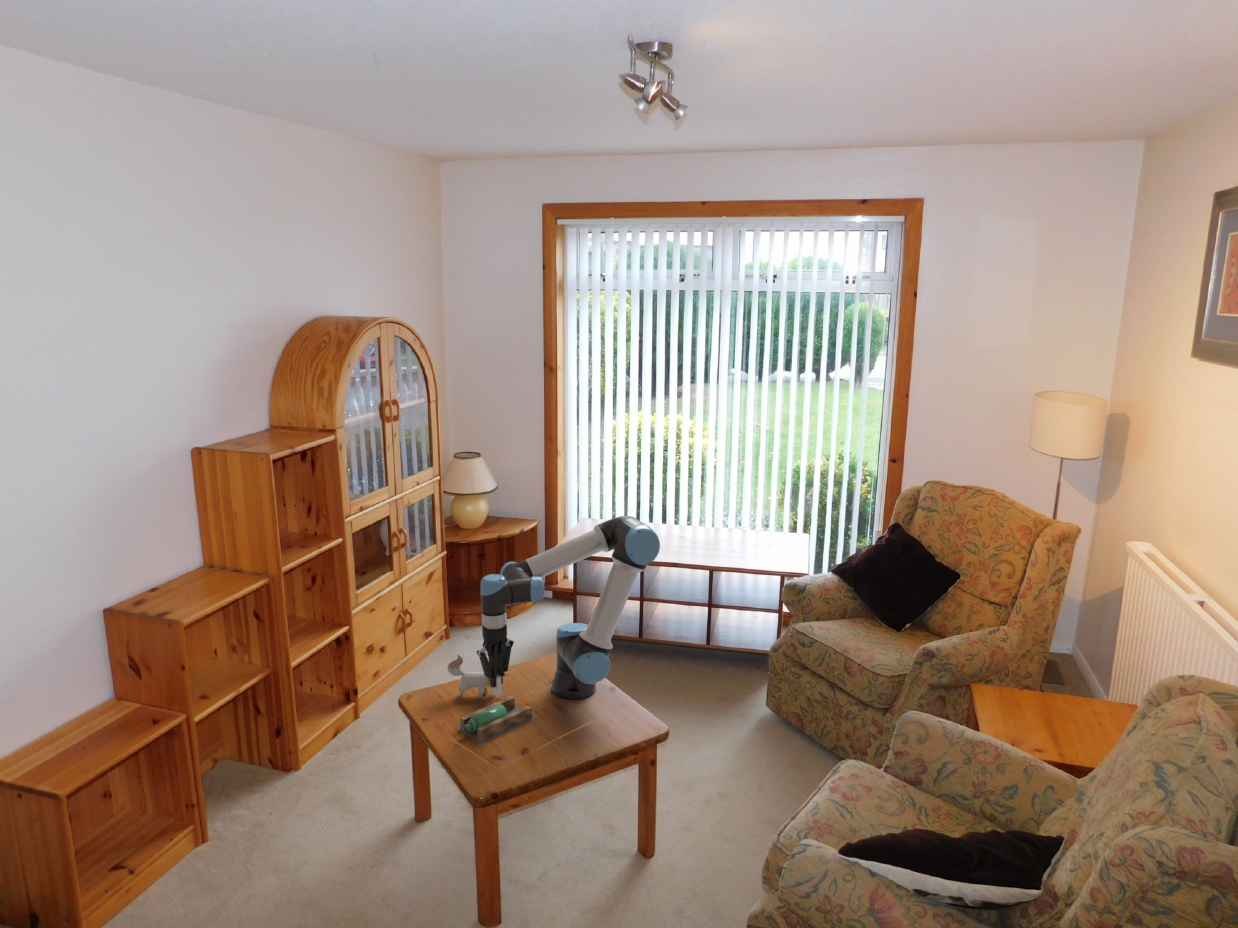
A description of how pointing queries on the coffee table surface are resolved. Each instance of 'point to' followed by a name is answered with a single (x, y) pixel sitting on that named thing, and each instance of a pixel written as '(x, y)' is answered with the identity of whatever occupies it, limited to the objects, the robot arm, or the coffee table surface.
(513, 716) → the rest
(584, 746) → the coffee table surface
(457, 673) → the toy
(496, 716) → the bottle
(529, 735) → the coffee table surface
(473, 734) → the mat
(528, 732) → the coffee table surface
